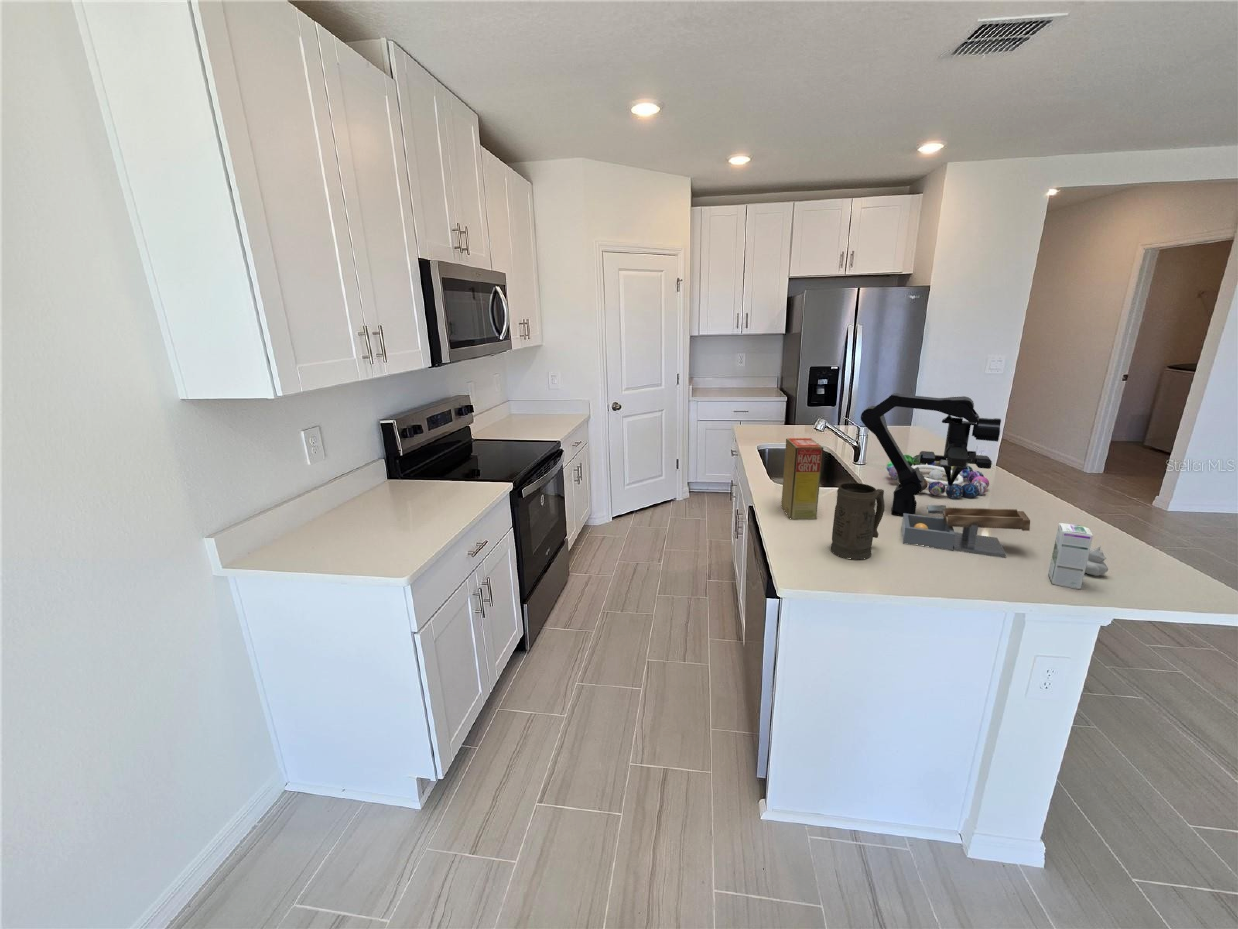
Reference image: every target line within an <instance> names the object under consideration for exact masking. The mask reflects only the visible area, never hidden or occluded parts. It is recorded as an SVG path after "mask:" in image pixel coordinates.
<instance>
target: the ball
mask: <svg viewBox="0 0 1238 929" xmlns="http://www.w3.org/2000/svg"><path fill="white" fill-rule="evenodd" d="M914 527H915V528H922V529H928V527H927V526H926V525H925V524H923V523H918V524H916V525H915V526H914Z"/></svg>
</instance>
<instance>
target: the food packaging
mask: <svg viewBox="0 0 1238 929" xmlns="http://www.w3.org/2000/svg"><path fill="white" fill-rule="evenodd" d="M823 457H824V446H822V445H821V444H819V443H817V442H816V441H815V440H814V439H812V438H811V437H810V438H809V437H805V438H804V437H802V438H801V437H798V438H796V437H790V438H788V437H787V438H785V450H784V466H783V475H782V476H783V477H782V491H781V504H780V506H782V507H783V508H782V507H781V508H782V510H783V509H784V510H785V511H784V510H783V511H784V513H785V512H786V513H787V515H788V516H787V515H786V516H787V517H788V518H789V517H790V518H791V519H790V518H789V519H790V520H817V519H818V518H817V515H818V503H819V494H820V484H821V474H822V466H823ZM786 513H785V514H786Z"/></svg>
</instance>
